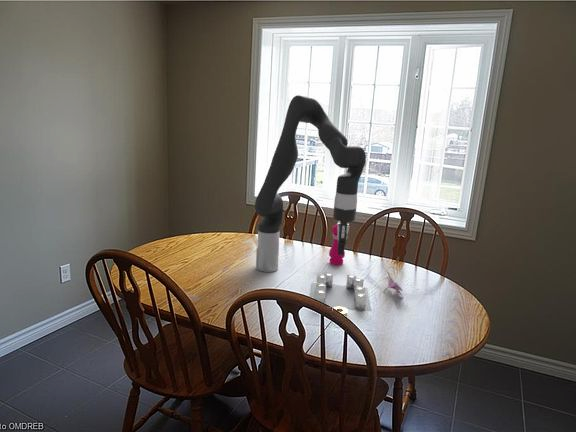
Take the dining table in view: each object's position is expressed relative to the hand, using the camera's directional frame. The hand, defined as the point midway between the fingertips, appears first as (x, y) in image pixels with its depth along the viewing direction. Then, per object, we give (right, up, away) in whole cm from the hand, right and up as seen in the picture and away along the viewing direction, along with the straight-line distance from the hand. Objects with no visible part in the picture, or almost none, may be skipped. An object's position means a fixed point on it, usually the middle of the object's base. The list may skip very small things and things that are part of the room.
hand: (340, 254), depth 142 cm
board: (0, -19, +4) cm, 19 cm away
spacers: (+1, -17, +9) cm, 19 cm away
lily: (+22, -18, +15) cm, 32 cm away
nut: (-1, -20, -6) cm, 21 cm away
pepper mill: (+4, -9, +47) cm, 48 cm away
